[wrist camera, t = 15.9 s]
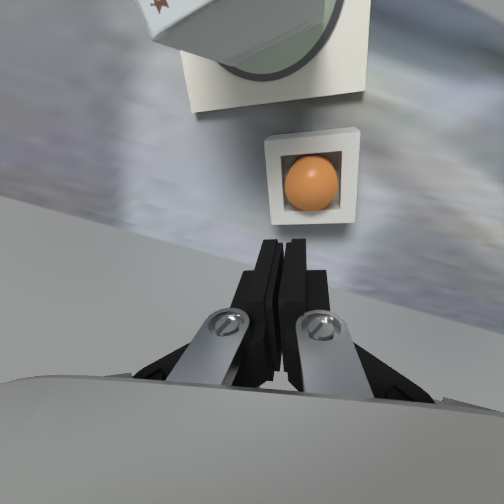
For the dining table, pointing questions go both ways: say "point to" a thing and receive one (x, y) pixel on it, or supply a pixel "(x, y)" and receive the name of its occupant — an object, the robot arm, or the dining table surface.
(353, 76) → the picture board
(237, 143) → the dining table surface
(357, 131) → the button housing
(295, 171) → the button
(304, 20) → the supplement box
